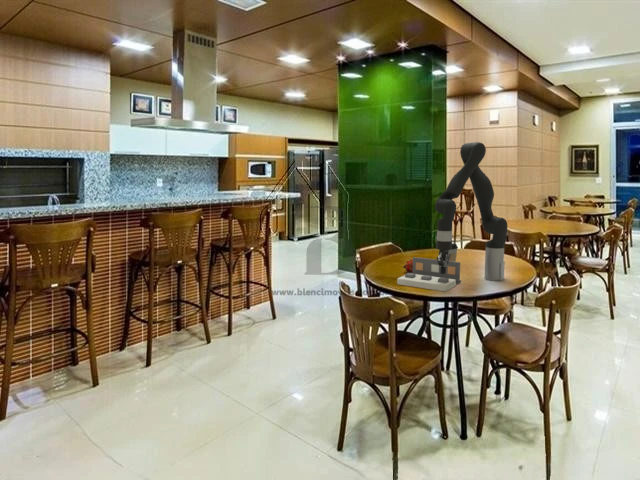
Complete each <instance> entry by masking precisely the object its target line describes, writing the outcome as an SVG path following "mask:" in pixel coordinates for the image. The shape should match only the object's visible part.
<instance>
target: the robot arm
mask: <svg viewBox="0 0 640 480" xmlns="http://www.w3.org/2000/svg"><path fill="white" fill-rule="evenodd" d="M486 153H487V149H486V146H485V145H484V143H482V142H480V141H478V142H466V143H464V144H462V145H461V147H460V158H461V160H462V163H463V166H462V167H461V168H460V169H459V171H457V172H456V173H455V174H454V175H453V176H452V177H451V179H450V180H449V183H448V185H447V187H446V189H445V191H443V192H442V193H441V195H440V196H439V197H438V198H437V200H436V202H435V203H434V204H435V206H434V207H435V208H434V209H435V212H437V213H439V214H443V216H442V218H438V221H437V231H436V242H435V243H436V244H435V245H436V246H435V248H436V250H438V256H436V260H437V262H438V265H439V266H441V270H440V273H441V274H445V273H446V266H447V264H448V262H449V259H450V254H449V250H451V249H452V243H453V221H454V219H455V216H456V212H457V204H456V202H455V201H454V199H457V198H459V197H460V195H461V193H462V191H463V189H464V187H465V185H466V183H467V182H468V181H469V180H470V183H471V185H472V190H473V193H474V194H473V195H474V197H475V198H476V202H477V205H478V209H479V212H480V218H481V224H482V228H483V230H484V231H485V233H487V234H489V235H492V237H491V238H492V239H490V240H486V242H485V253H484V255H485V257H484V279H485V280H487V281H488V280H489V281H499V282H500V281H502V280H503V279H504V278H505V265H506V264H505V263H506V261H504V258H505V245H506V242H507V236H508V235H507V234H508V222H507V220H506V219H505V218H504V217H497V216H494V213H493V208H492V204H493V201H494V196H495V191H494V188H493V184H492V182H491V180H490V178H489V177H488V176H487V175H486V173H485V172H484V171H483V170H482V169H481V168H480V166H479V165H480V163H481V162H482V160H483V159H484V158H485V155H486Z"/></svg>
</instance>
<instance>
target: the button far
mask: <svg viewBox="0 0 640 480" xmlns="http://www.w3.org/2000/svg"><path fill="white" fill-rule="evenodd" d="M404 275H405V277H406V278H415V274H413V272H411V273H409V272H406V274H404Z"/></svg>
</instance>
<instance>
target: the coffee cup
mask: <svg viewBox="0 0 640 480" xmlns="http://www.w3.org/2000/svg"><path fill="white" fill-rule="evenodd" d="M458 249H459V246H458V245H457V243H453V242H452V249H451V250H449V254H450V259H449V261H453V262H457V255H458V254H457V253H458V252H457V251H458Z"/></svg>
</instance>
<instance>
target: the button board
mask: <svg viewBox="0 0 640 480" xmlns="http://www.w3.org/2000/svg"><path fill="white" fill-rule="evenodd" d="M421 276H423V275H418V274H415V278H406V277H405V274H404V275H402V276H400V277H398V278H397V279H396V280H397V281H396V283H397V284H396V285H400V286H405V287H406V286H408V287H414V288H420V289H426V290H431V291H432V290H433V291H439V292H447V291H449V290H451V289H452V288H454V287H455V286H457V284H456V280H455V279H449V282H447V283H441V282H438V279H439V278H440V277H433V276H432V279H431V280H430V281H427V280H421Z"/></svg>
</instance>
